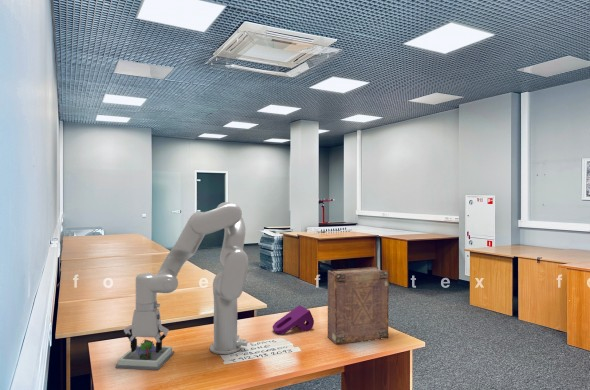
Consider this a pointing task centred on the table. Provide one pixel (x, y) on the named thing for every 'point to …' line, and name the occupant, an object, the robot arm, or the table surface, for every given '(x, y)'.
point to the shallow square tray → (145, 359)
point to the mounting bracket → (295, 321)
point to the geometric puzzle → (146, 349)
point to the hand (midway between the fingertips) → (146, 351)
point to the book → (357, 304)
